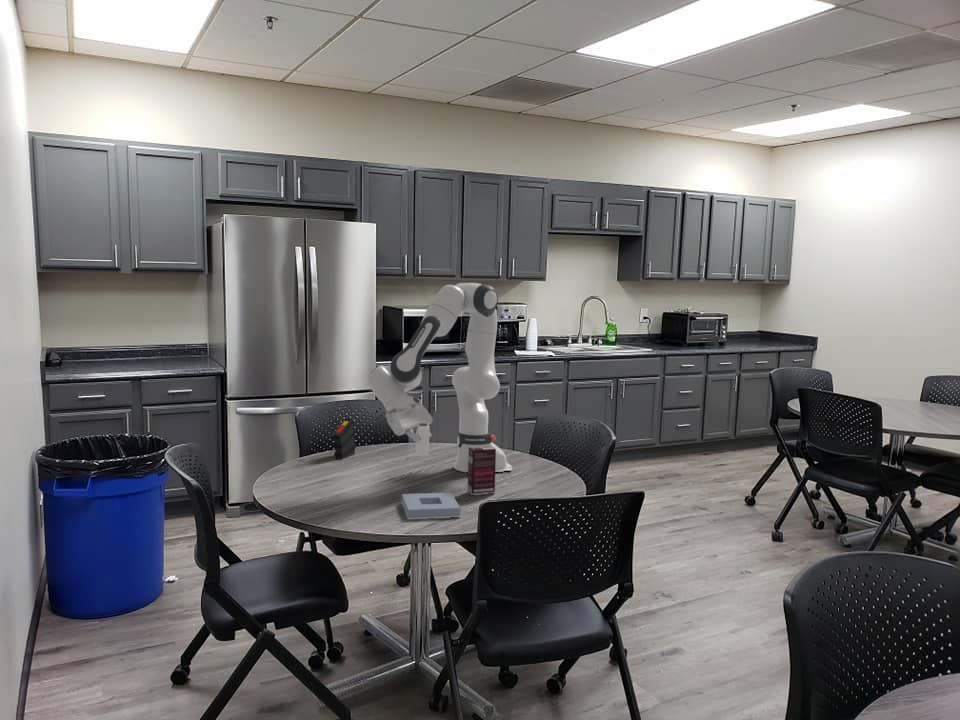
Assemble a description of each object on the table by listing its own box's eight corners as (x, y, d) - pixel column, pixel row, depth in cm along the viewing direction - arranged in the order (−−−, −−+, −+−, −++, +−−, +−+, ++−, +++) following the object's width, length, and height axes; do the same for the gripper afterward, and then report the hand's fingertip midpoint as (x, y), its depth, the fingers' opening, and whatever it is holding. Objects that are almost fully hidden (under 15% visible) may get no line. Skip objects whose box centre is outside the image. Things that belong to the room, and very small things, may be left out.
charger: (427, 453, 246) (428, 422, 245) (428, 456, 242) (429, 424, 241) (415, 453, 245) (416, 422, 244) (417, 456, 241) (418, 424, 240)
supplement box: (489, 490, 249) (491, 445, 248) (495, 494, 245) (496, 448, 243) (466, 492, 246) (468, 446, 245) (471, 496, 242) (472, 450, 240)
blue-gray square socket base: (450, 501, 235) (450, 492, 235) (460, 517, 220) (460, 507, 219) (401, 503, 232) (402, 494, 231) (408, 519, 216) (408, 509, 216)
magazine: (359, 448, 296) (352, 418, 289) (344, 468, 286) (337, 438, 278) (351, 447, 298) (344, 417, 290) (336, 467, 287) (328, 437, 279)
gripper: (389, 406, 235) (413, 439, 232) (421, 398, 253) (445, 428, 250) (377, 417, 238) (401, 450, 234) (410, 409, 256) (433, 439, 253)
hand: (424, 439), depth 242 cm, fingers closed on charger, 6 cm apart
